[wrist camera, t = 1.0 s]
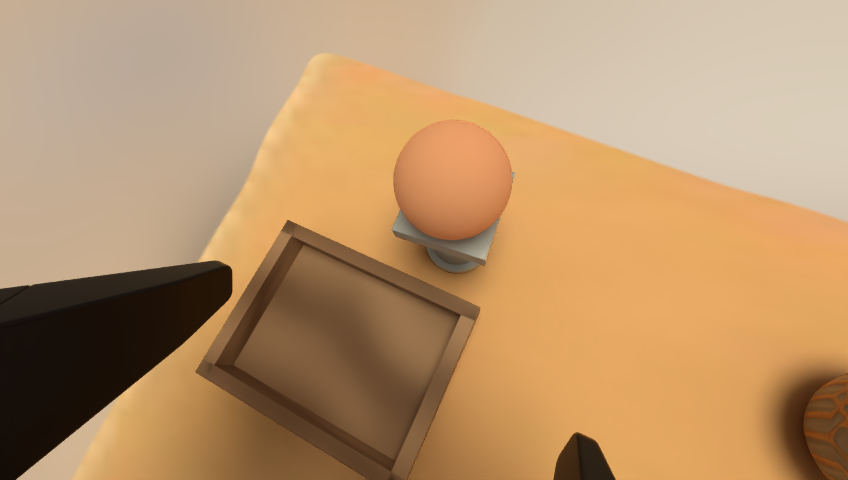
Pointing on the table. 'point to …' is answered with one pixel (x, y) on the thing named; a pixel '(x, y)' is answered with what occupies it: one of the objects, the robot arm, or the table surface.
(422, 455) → the table surface
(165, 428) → the table surface
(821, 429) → the vase
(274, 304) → the tray
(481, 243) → the stand
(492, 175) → the ball
